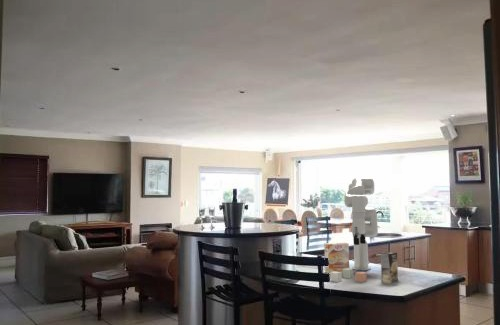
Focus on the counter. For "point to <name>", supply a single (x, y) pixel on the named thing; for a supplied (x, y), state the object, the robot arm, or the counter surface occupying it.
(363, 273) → the terracotta block
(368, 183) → the robot arm
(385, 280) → the birch cylinder
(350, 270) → the sage block
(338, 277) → the off-white block
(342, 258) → the coffeecake box
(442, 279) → the counter surface
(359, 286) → the counter surface
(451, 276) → the counter surface
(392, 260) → the coffee box
